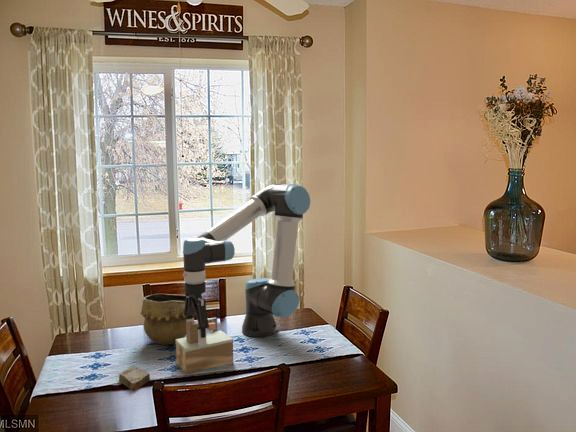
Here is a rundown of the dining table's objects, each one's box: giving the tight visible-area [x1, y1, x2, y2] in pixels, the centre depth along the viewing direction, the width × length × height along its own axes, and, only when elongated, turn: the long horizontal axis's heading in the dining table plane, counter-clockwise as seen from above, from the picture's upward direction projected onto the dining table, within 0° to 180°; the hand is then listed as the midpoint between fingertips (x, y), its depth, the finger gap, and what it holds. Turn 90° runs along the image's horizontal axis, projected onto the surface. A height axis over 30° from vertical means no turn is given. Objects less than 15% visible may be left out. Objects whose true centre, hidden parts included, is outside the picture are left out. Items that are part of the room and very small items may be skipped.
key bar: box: [206, 317, 216, 332], centre depth 194 cm, size 12×3×3 cm, turn 31°
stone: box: [118, 366, 151, 392], centre depth 168 cm, size 15×8×3 cm, turn 41°
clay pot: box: [140, 293, 187, 346], centre depth 201 cm, size 21×21×20 cm
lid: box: [175, 319, 234, 352], centre depth 181 cm, size 11×18×8 cm, turn 121°
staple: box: [208, 317, 218, 332], centre depth 192 cm, size 2×6×13 cm, turn 121°
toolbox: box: [175, 341, 234, 375], centre depth 181 cm, size 11×18×8 cm, turn 121°
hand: (196, 340), depth 179 cm, fingers closed on lid, 11 cm apart
